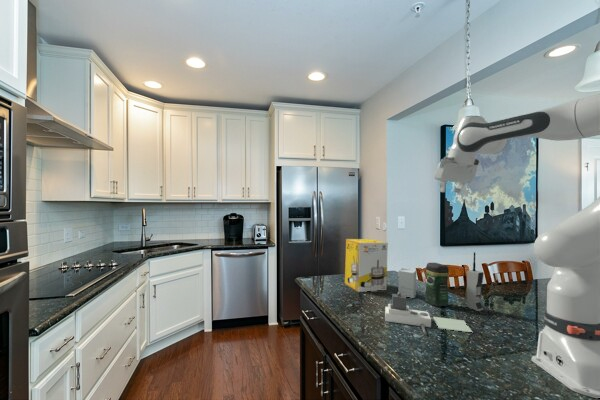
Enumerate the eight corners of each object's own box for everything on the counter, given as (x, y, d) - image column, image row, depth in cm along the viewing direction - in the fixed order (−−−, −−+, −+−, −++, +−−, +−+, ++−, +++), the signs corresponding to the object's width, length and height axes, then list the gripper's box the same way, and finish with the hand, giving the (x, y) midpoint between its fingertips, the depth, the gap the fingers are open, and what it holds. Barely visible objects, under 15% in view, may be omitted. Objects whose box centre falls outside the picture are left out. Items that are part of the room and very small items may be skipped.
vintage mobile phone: (477, 312, 124) (478, 253, 124) (466, 308, 128) (467, 251, 129) (482, 310, 126) (484, 253, 126) (471, 307, 130) (472, 251, 131)
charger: (406, 314, 110) (406, 295, 110) (392, 312, 112) (392, 293, 112) (405, 310, 114) (405, 292, 114) (391, 308, 115) (392, 290, 116)
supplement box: (416, 295, 145) (417, 270, 145) (413, 299, 139) (414, 272, 139) (401, 292, 149) (401, 268, 149) (397, 296, 143) (398, 270, 143)
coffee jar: (451, 307, 129) (452, 265, 130) (436, 308, 127) (437, 265, 128) (436, 300, 139) (437, 261, 139) (422, 300, 137) (423, 261, 137)
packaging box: (358, 292, 147) (360, 242, 148) (344, 283, 163) (346, 239, 163) (386, 290, 152) (387, 242, 152) (370, 282, 167) (371, 239, 168)
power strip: (435, 337, 98) (435, 323, 98) (385, 330, 102) (386, 317, 102) (427, 319, 114) (427, 307, 114) (385, 313, 118) (385, 302, 118)
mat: (472, 333, 102) (472, 332, 102) (438, 328, 105) (438, 327, 105) (464, 321, 112) (464, 320, 112) (433, 317, 115) (433, 316, 115)
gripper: (450, 157, 106) (439, 193, 110) (482, 162, 116) (471, 195, 119) (436, 154, 111) (426, 189, 115) (468, 159, 121) (458, 190, 125)
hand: (449, 192), depth 117 cm, fingers open, 8 cm apart
